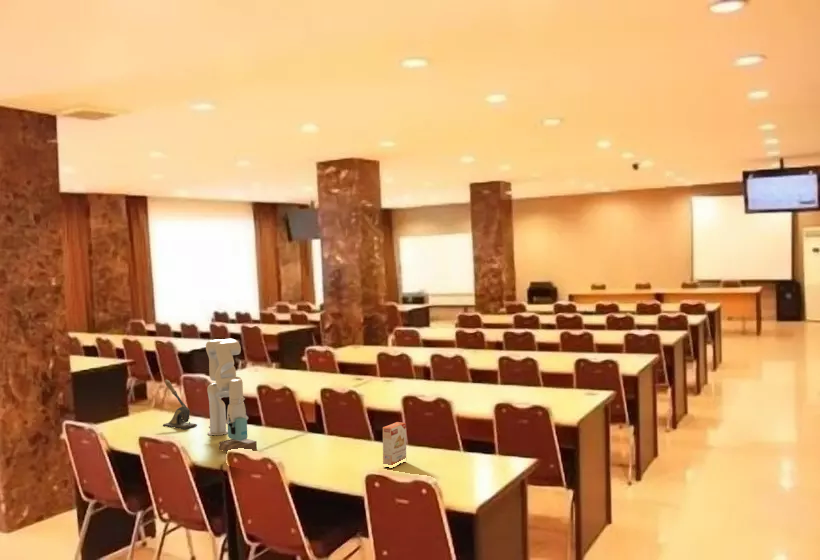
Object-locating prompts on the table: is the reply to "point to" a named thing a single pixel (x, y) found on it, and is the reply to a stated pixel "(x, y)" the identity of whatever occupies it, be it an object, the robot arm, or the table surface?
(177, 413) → the embossing press
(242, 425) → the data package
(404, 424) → the cracker box
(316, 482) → the table surface
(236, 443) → the walnut block
